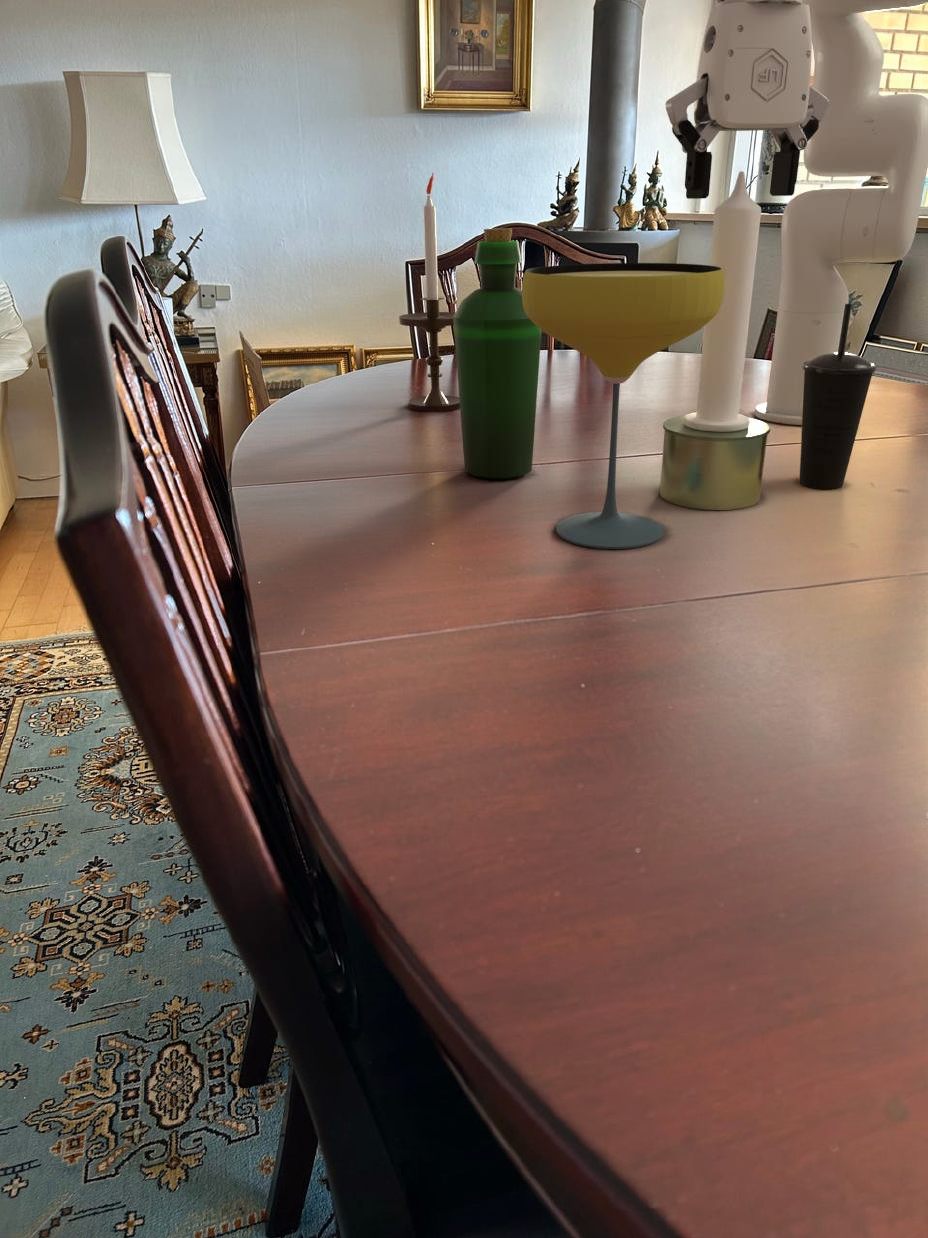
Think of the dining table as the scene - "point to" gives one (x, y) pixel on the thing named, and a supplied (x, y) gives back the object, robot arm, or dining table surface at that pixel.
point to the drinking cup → (832, 412)
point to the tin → (712, 466)
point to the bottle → (497, 366)
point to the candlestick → (431, 318)
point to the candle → (728, 315)
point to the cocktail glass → (619, 349)
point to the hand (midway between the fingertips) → (739, 196)
